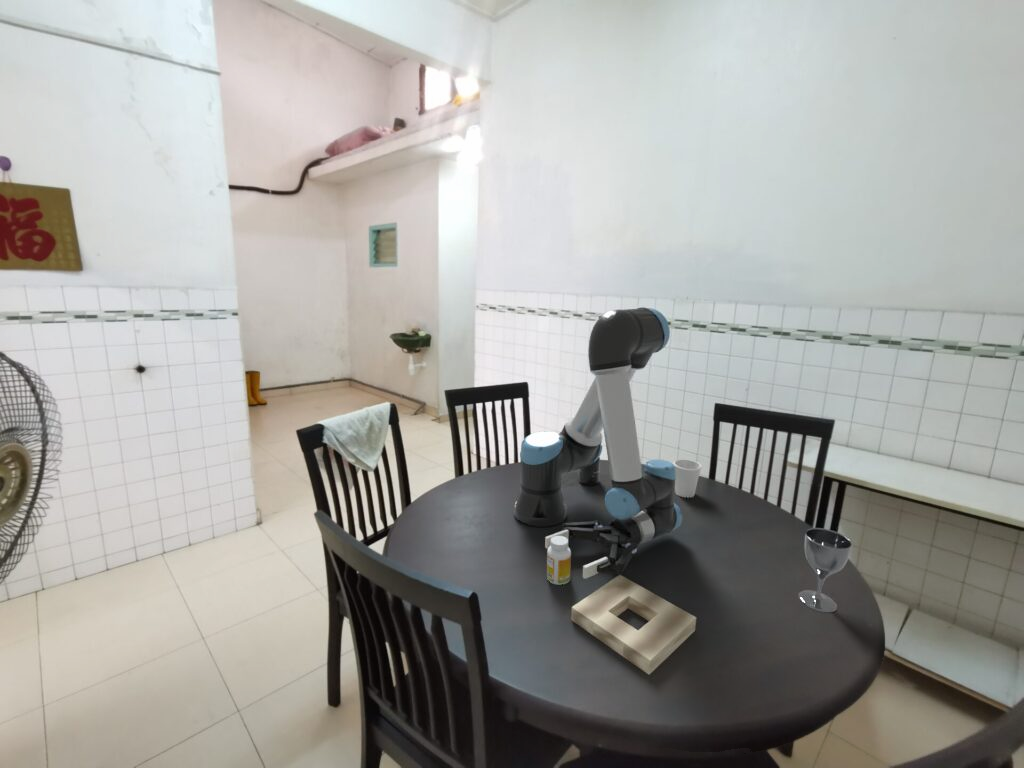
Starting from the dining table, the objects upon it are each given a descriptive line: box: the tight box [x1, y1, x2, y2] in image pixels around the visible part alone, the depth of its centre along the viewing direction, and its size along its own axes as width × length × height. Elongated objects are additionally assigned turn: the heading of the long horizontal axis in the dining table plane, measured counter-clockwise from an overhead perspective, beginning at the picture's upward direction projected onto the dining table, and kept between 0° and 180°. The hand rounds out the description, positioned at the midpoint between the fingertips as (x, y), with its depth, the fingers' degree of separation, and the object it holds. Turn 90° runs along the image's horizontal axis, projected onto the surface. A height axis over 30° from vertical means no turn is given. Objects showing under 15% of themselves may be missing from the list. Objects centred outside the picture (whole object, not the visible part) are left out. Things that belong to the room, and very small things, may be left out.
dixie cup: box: [673, 458, 703, 499], centre depth 151 cm, size 8×8×10 cm
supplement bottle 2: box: [578, 456, 601, 486], centre depth 159 cm, size 7×7×12 cm
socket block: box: [570, 574, 697, 675], centre depth 94 cm, size 18×16×3 cm
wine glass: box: [797, 527, 852, 613], centre depth 100 cm, size 8×8×15 cm
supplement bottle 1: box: [546, 536, 572, 586], centre depth 108 cm, size 5×5×10 cm
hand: (563, 557), depth 108 cm, fingers open, 13 cm apart
